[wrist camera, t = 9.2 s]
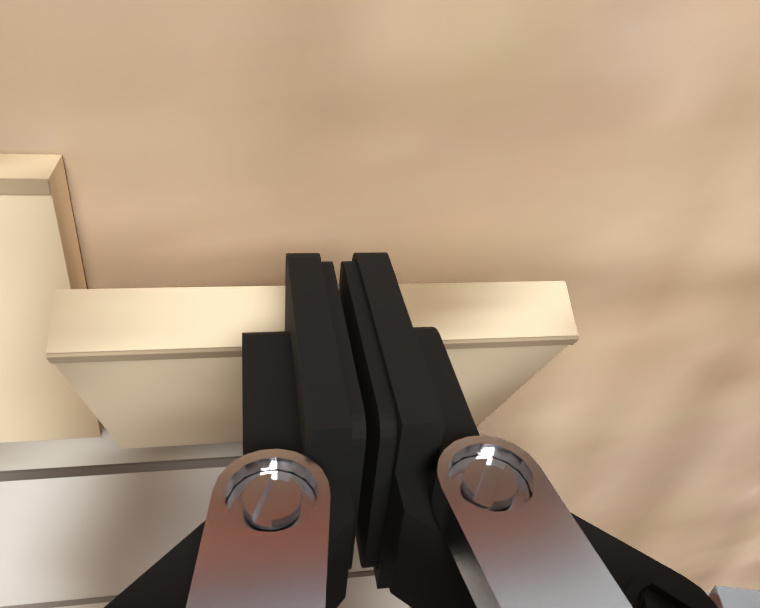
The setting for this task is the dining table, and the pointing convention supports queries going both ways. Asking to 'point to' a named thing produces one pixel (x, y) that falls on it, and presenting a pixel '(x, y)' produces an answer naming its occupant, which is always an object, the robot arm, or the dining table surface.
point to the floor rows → (111, 518)
